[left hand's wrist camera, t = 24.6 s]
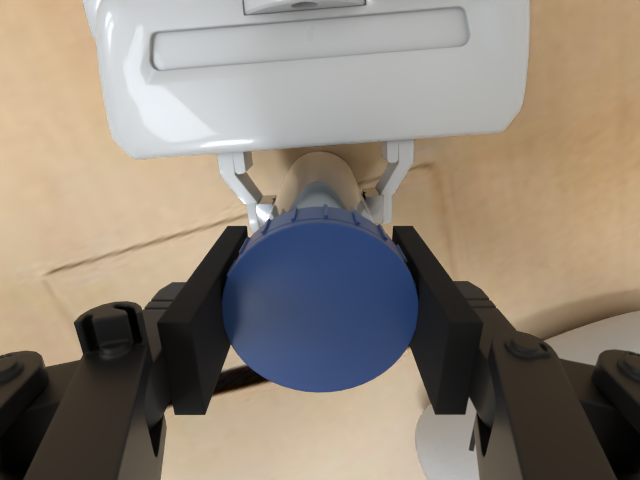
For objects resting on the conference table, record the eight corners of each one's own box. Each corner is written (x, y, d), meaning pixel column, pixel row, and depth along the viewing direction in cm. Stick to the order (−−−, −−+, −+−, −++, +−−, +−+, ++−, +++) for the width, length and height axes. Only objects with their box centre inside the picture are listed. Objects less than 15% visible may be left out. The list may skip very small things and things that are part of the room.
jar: (271, 195, 26) (208, 320, 11) (310, 136, 25) (295, 190, 10) (328, 232, 27) (339, 390, 13) (369, 177, 26) (436, 282, 11)
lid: (215, 213, 11) (198, 232, 9) (406, 194, 11) (421, 210, 9) (248, 365, 13) (239, 400, 12) (408, 352, 13) (420, 386, 11)
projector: (608, 484, 38) (773, 703, 24) (393, 479, 37) (435, 697, 24) (697, 303, 30) (1020, 478, 16) (422, 295, 29) (512, 465, 16)
